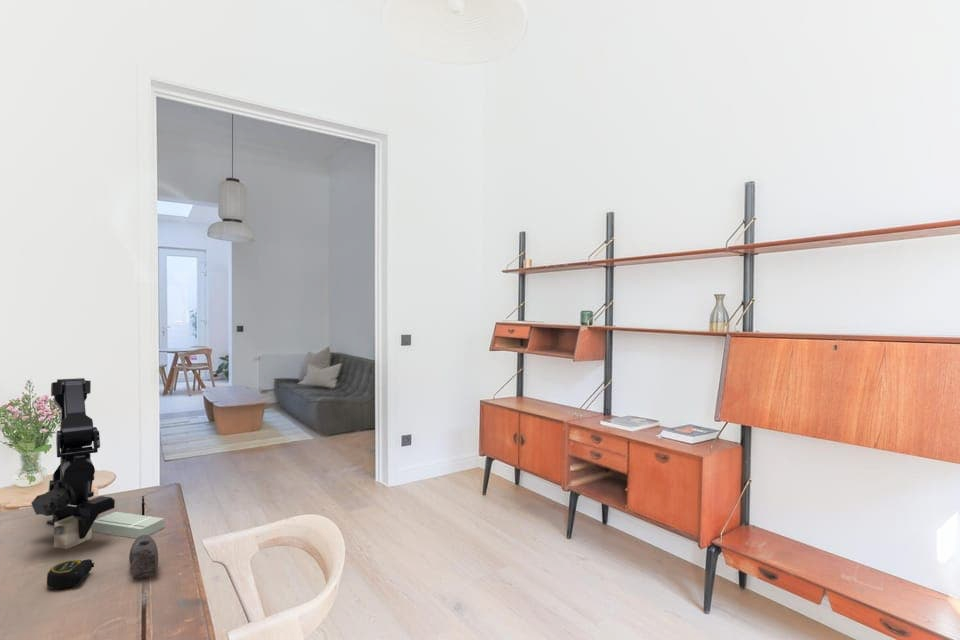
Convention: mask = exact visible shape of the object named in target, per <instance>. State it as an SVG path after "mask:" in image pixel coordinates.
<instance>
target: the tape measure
mask: <svg viewBox="0 0 960 640" xmlns="http://www.w3.org/2000/svg"><path fill="white" fill-rule="evenodd" d="M94 567H95V562H93V560H92V559H90V558H88V559H84V560H80V559H73V560H66V561H62V562H60V563H57V564H55V565H53V566H52V567H51V568H50V569H49V570H48V572H47V573H46V574H47V575H46V585H47V587H48V588H51V589H57V590H59V589H64V588H69V587H70V588H71V587H73V586H77V585H79V584H81V583H82V581H83V580H84V579H85V577H86V576H87V575H88V574H89V573H90V572H91V570H92V569H93V568H94Z"/></svg>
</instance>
